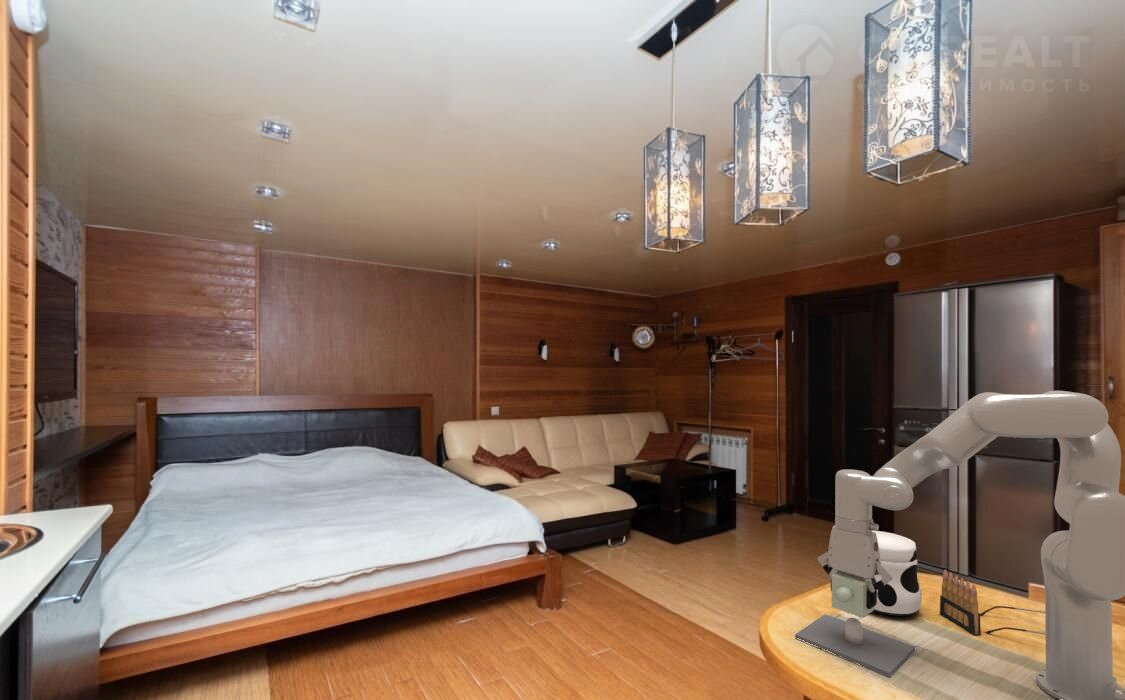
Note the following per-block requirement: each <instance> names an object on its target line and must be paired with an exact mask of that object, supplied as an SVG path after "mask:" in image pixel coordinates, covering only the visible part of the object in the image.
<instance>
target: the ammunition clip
mask: <svg viewBox="0 0 1125 700" xmlns="http://www.w3.org/2000/svg"><path fill="white" fill-rule="evenodd" d="M941 582H942V584H941V594H940V597H939V615H940V616H941V617H943V618H945V619H946V620H948V621H949V622H951V623H953V624H954V625H956V626H957V627H959V628H960V629H962V630H964V631H966V632H968V633H969V634H970V635H972V636H981V635H982V631H981V630H982V629H981V616H980V614H981V613H979V602H978V592H977V586H976V585H975V583H972V585H971V583H970V581H969V580H967V581H966V582H965V580H964V578H963V577H961V578H960V579H959V577H958V575H957V574H955V576H954V575H953V573H952V572H949V574H948V571H947V569H944V571H943V573H942V581H941Z"/></svg>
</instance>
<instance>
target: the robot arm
mask: <svg viewBox="0 0 1125 700" xmlns="http://www.w3.org/2000/svg"><path fill="white" fill-rule="evenodd" d="M1108 422H1109V412H1108V409H1107V407H1106V406H1105V405H1104V404H1103V403H1102V402H1101V401H1100V400H1099V399H1097V398H1095V397H1094V396H1091V395H1088V394H1087V393H1086V394H1085V393H1081V392H1072V391H1065V390H1050V391H1045V392H1042V393H1041V394H1013V393H1012V394H1011V393H1009V394H1007V393H999V392H987V391H986V392H982V393H979V394H977V395H975V396H973V397H972V398H970V399H968V400H967V401H966V402H965V403H963V404H962V405H961V406H960V407H959V408H958V409H957V410H955V411H954V412H952V414H950V415H949V416H948V417H946V418H945V419H944V420H942V422H940V423H939V424H938V425H937V426H934V428H933V429H931V431H929V432H927V433H926V434H925V435H923V436H922V437H920V438H919V439H917V441H915V442H914V443H912V444H911V445H909V446H907V447H906V448H905V449H903V450H902V451H901V452H899V453H897V454H896V455H895V456H894V457H893V458H891V459H890V460H889V461H887V462H886V463H885V464H884V465H883V466H882V467H881V468H879V469H878V470H877V471H875V473H874V474H873V475H870V474H869V473H868V472H865V471H864V470H858V469H840V470H838V471H837V472H836V474H835V482H834V483H835V486H834V487H835V488H834V489H835V492H834V493H835V494H834V495H835V499H834V503H835V505H834V507H835V508H834V510H835V513H834V514H835V517H834V518H835V519H834V521H835V522H834V525H833V526H832V529H831V531H830V538H829V541H828V542H829V543H828V551H826V552H825V553H822V554H821V555H819V556H818V557H817V562H819V564H820V566H822V568H823V570H824V572H825V573H826V574H827V575H828V578H829V579H830V591H831V592H832V575H833V574H835V573H838V571H841V572H845V573H848V574H851V575H855V576H858V577H862V578H864V580H865V582H867V586H868V591H867V609H871V608H872V607H874V606H875V605H876V604H877V590H878V589H879V588H881V587H883V586H884V585H885V584H887V583H888V582H890V581H891V580H892V579H893V578H892V576H891V575H890V574H889V573H888V572H887V571H886V570H885V569H884V568H883V567H882V566H881V564H880V552H879V545H878V540H877V535H876V533H875V532H872V531H879V528H880V526H879V524H877V523H875V522H874V519H873V506H874V507H877V508H882V509H886V510H890V511H902V510H906V509H908V508H909V506H911V504H912V503H913V501H914V492H913V491H914V490H913V489H914V487H916V486H917V485H918V484H920V483H921V482H923V481H924V480H925V479H926V478H928V477H930V476H932V475H933V474H935V473H937V472H940V471H942V470H943V471H944V470H946V469H953V468H955V467H959V466H960V465H962V464H964V463H965V462H967V461H968V460H970V459H971V458H972V457H973V456H974V455H975V454H977V453H978V452H980V451H981V450H982V449H983V448H985V447H986V446H987V445H988V444H989V443H991V442H992V441H994V440H995V439H996V438H998V437H1004V438H1005V437H1006V438H1022V439H1023V438H1024V439H1027V438H1029V439H1031V438H1032V439H1034V438H1035V439H1056V440H1057V442H1058V443H1059V449H1060V460H1059V470H1058V471H1059V472H1058V476H1057V483H1056V489H1055V496H1054V499H1053V501H1054V502H1053V504H1054V508H1055V511H1056V512H1057V514H1058V515H1059V516H1060V517H1061V519H1063V520H1064V521H1065V522H1066V523H1068V524H1069V529H1068V530H1060V531H1059V530H1058V531H1055V532H1052V533H1051V534H1049V535H1048V536H1047V537H1046V538H1045V539H1044V541H1043V542H1042V545H1041V549H1040V561H1041V567H1042V568H1041V569H1042V575H1043V581H1044V604H1045V607H1044V608H1045V609H1044V611H1045V613H1044V615H1045V617H1044V620H1045V633H1046V634H1045V670H1040V671H1038V672H1037V673H1035V682H1036V685H1038V687H1040V689H1041V690H1042V691H1044V692H1045V693H1046V694H1048V695H1050V696H1051V697H1053V698H1055V699H1056V698H1058V699H1063V700H1125V688H1124V687H1122V685H1119V684H1117V682H1118V681H1117V677H1116V676H1114V675H1113V674H1114V673H1113V672H1114V669H1113V665H1114V664H1113V662H1114V661H1113V659H1114V658H1113V608H1112V601H1116V600H1120V599H1121V598H1123V597H1125V495H1124V494H1122V493H1120V482H1121V481H1120V480H1121V468H1122V467H1121V465H1122V452H1121V446H1120V443H1119V440H1118V438H1117V436H1116V433H1115V432H1114V430H1113V429H1112V427H1111V426H1110V424H1109V423H1108ZM879 574H880V575H881V576H882V579H881V580H880V581H878V582H877V581H876V578H875V576H874V575H879ZM1058 699H1057V700H1058Z"/></svg>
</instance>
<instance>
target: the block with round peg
mask: <svg viewBox="0 0 1125 700" xmlns="http://www.w3.org/2000/svg"><path fill="white" fill-rule="evenodd" d="M867 591H868V586H867V582H865V580H864V578H862V577H858V576H855V575H851V574H848V573H845V572H841V571H838V573H835V574H833V575H832V591H831V608H833V609H836V610H839V611H841V612H844V613H847V614H850V615H853V616H856V617H859V618H862V619H864V618H865V617H867V616H868V615H870V614H871V613H872V612H874V611H873V610H874V609H875V606H874V607H872V608H871V609H867Z"/></svg>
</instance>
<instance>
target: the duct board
mask: <svg viewBox="0 0 1125 700" xmlns="http://www.w3.org/2000/svg"><path fill="white" fill-rule="evenodd" d="M795 637H796V638H799V639H801V640H804V641H805V642H808V643H810V644H813V645H816V646H818V647H820V648H823V649H825V650H828V651H830V652H832V653H834V654H836V655H839V656H841V657H843V658H846V659H848V660H850V661H849V662H851V661H853V662H855V663H858V664H860V665H862V666H861V667H863V666H864V667H863V668H865V667H866V669H868V670H871V671H873V672H875V673H877V674H880V675H882V676H885V677H887V678H891V677H892V676H893V675H894V673H896V672H897V670H899V669H900V667H902V666H903V664H904V663H905V662H907V660H908V659H909V658H911V656H913V654H914V653H915V652H916V645H915V646H914V645H912V644H910V643H907V642H904V641H900V640H898V639H895V638H892V637H890V636H887V635H884V634H882V633H879V632H876V631H873V630H870V629H868V628H864V627H863V624H862V622H861V621H860V619H857V618H856V617H849V618H846V620H843V619H840V618H837V617H835V616H832V615H829V614H826V613H825V614H823V615H821V616H819V618H817V619H816V620H814V621H813V622H811V623H809V624H808V625H807V626H805V627H804V628H802V629H801V630H799V631H798V632H796V633H794V638H795ZM805 642H804V643H805ZM810 644H809V645H810ZM834 654H833V655H834ZM836 655H835V656H836ZM839 656H838V657H839ZM841 657H840V658H841ZM843 658H842V659H843ZM846 659H845V660H846ZM848 660H847V661H848ZM853 662H852V663H853ZM855 663H854V664H855ZM858 664H857V665H858ZM860 665H859V666H860Z"/></svg>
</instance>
